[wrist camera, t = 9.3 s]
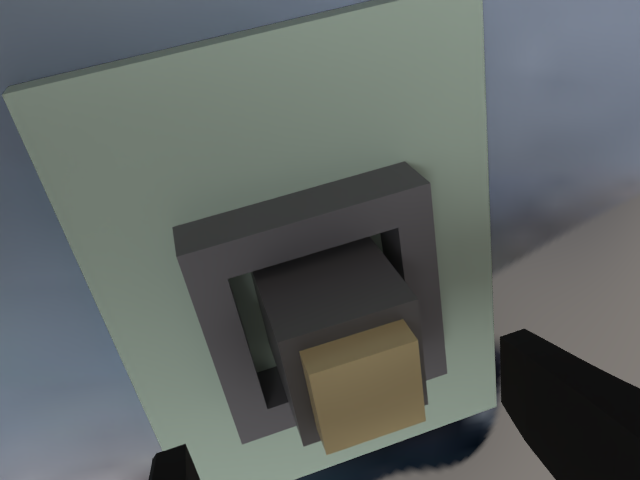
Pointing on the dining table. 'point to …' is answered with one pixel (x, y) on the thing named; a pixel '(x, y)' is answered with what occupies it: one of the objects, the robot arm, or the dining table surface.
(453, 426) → the dining table surface
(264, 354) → the end holder
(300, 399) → the connector plug
